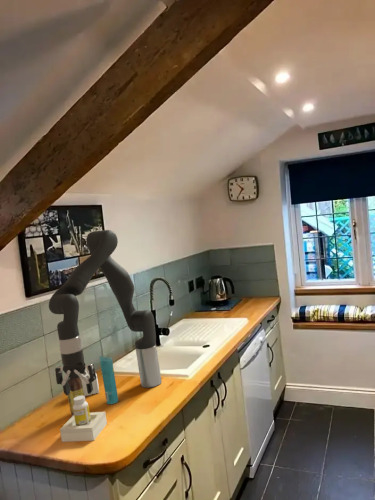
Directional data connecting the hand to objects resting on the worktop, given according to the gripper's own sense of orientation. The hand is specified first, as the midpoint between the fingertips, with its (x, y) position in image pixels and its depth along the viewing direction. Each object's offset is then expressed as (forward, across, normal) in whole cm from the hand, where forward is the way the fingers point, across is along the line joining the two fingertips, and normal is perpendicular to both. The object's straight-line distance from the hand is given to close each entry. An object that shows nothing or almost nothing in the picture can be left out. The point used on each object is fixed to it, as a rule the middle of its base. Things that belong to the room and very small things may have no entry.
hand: (78, 393), depth 155 cm
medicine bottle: (+15, +14, -37) cm, 42 cm away
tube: (+15, -1, -25) cm, 29 cm away
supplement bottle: (+12, 0, 0) cm, 12 cm away
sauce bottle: (+15, +10, -16) cm, 24 cm away
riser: (+14, 0, 0) cm, 14 cm away
